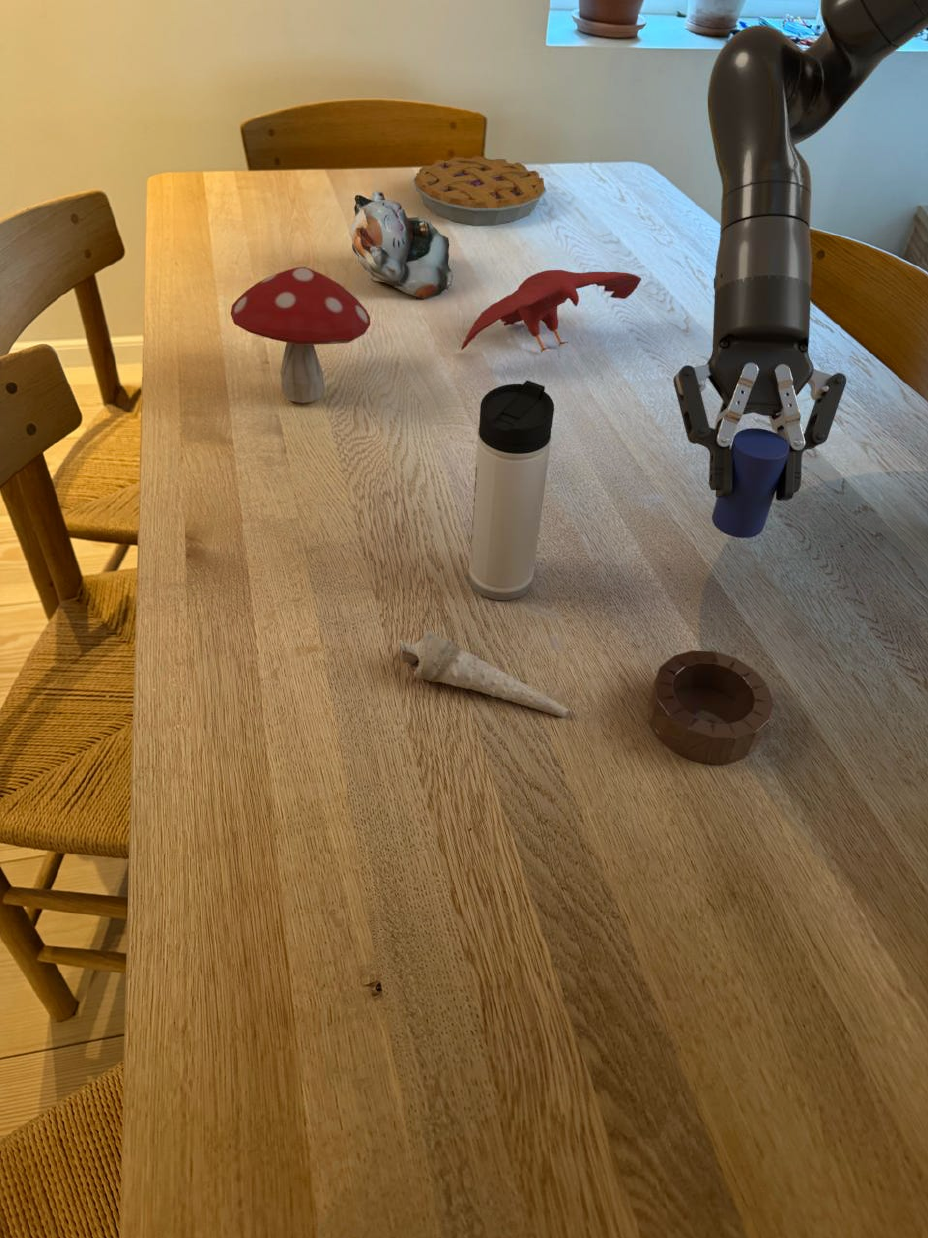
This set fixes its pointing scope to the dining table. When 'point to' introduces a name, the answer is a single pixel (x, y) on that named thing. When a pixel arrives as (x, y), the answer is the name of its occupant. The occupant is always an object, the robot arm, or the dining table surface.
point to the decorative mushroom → (301, 323)
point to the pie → (479, 190)
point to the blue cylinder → (751, 482)
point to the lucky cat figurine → (400, 247)
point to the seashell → (470, 673)
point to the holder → (709, 707)
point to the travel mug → (509, 488)
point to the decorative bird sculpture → (549, 299)
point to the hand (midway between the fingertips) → (754, 496)
